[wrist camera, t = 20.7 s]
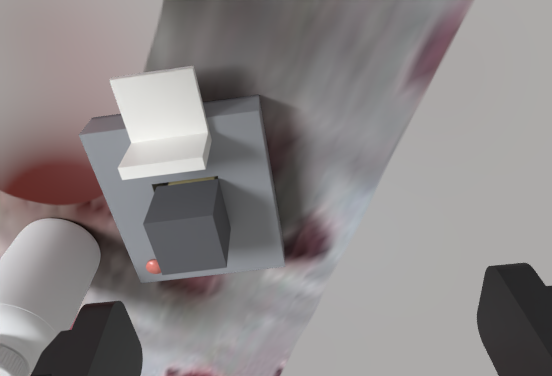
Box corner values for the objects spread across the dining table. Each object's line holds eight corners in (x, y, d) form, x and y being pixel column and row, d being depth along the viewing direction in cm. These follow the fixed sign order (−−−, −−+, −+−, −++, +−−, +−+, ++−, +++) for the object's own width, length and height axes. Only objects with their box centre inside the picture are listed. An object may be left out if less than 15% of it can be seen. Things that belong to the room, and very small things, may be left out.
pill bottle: (17, 207, 42) (-87, 340, 30) (105, 224, 44) (40, 359, 31) (20, 268, 46) (-72, 407, 34) (100, 282, 48) (41, 421, 35)
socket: (148, 260, 46) (140, 285, 43) (92, 117, 37) (77, 136, 34) (283, 244, 45) (285, 268, 42) (258, 94, 37) (258, 112, 34)
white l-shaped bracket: (137, 150, 36) (122, 180, 32) (111, 77, 32) (91, 101, 29) (211, 140, 35) (205, 169, 32) (193, 65, 32) (184, 87, 28)
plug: (178, 215, 43) (162, 275, 36) (163, 168, 40) (142, 224, 33) (232, 208, 42) (226, 267, 36) (221, 160, 39) (212, 215, 33)
